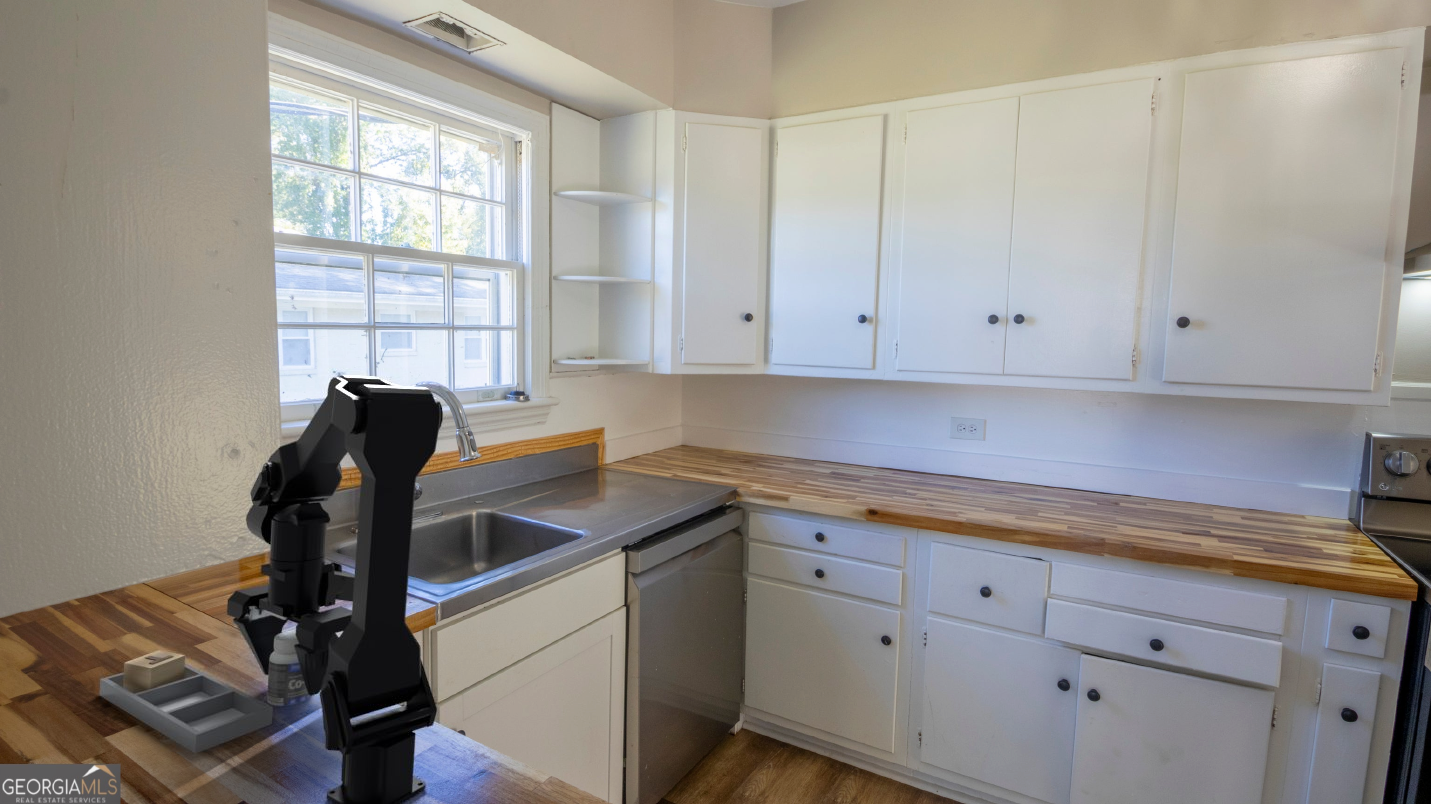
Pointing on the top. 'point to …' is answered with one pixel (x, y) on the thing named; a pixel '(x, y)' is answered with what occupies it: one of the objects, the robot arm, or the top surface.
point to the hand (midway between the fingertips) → (291, 683)
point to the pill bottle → (285, 672)
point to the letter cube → (153, 671)
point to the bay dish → (191, 709)
